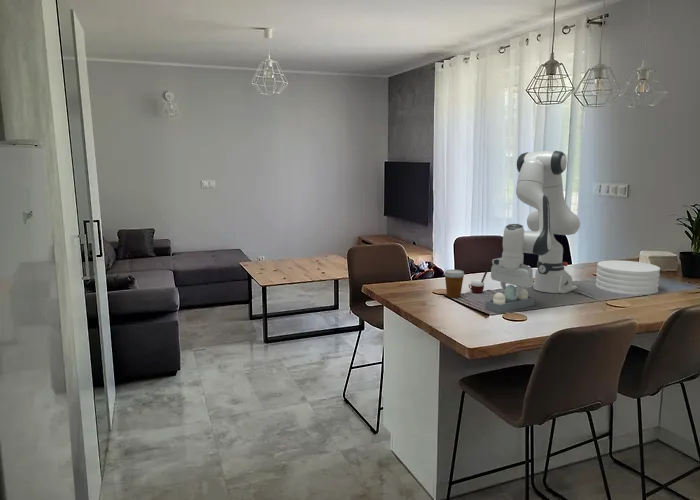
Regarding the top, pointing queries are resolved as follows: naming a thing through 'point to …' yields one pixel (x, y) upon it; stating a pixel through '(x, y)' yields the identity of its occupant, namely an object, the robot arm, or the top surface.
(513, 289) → the blue egg
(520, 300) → the egg crate
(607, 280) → the plate stack
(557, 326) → the top surface
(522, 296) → the inner cream egg
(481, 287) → the cocoa
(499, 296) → the outer cream egg
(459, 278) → the disposable coffee cup
